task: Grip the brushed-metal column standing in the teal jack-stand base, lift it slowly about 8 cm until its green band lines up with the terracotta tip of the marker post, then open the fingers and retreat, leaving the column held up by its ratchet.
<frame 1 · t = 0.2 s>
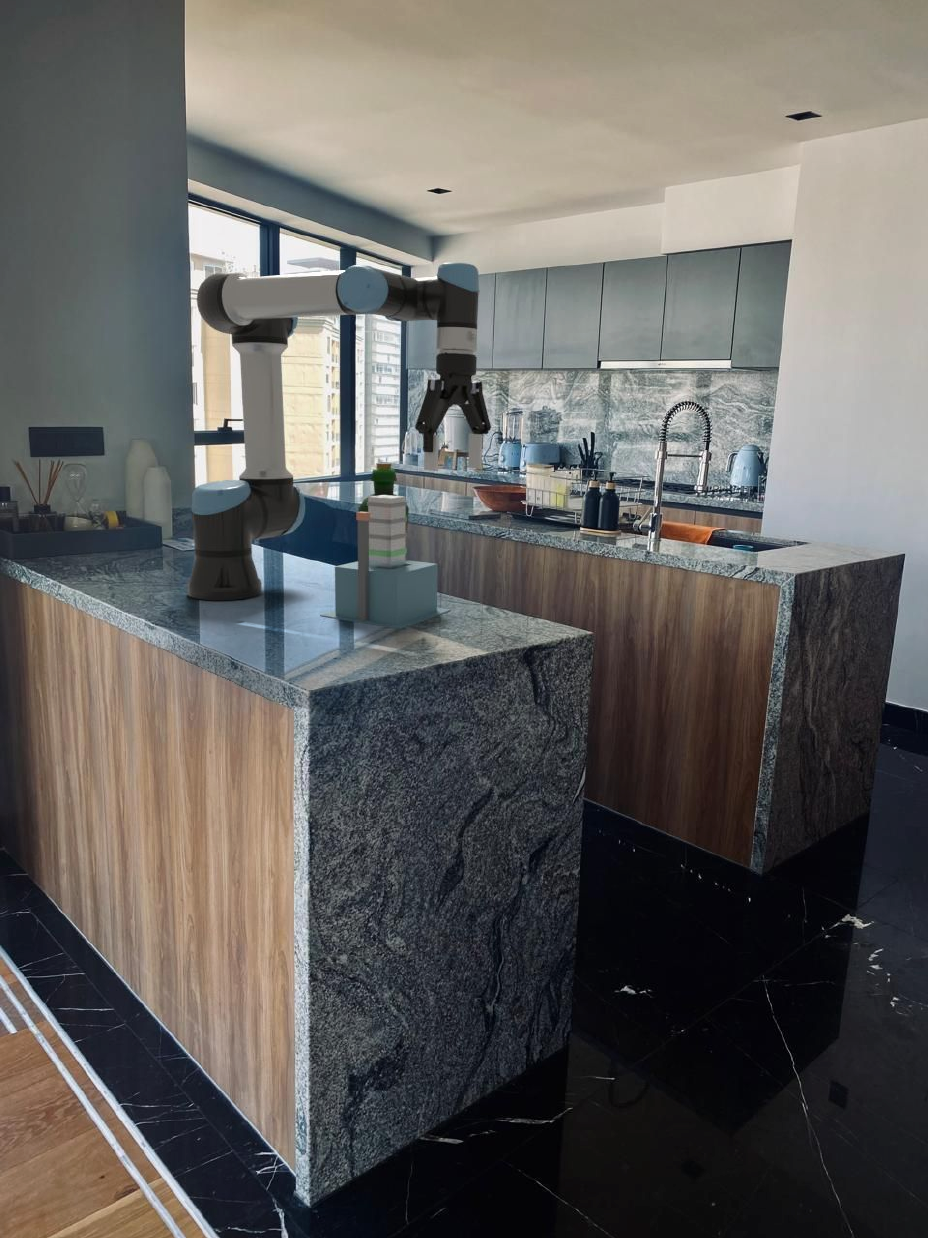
hand: (453, 469, 167), 28 cm above the table, fingers open, 13 cm apart
bottle: (383, 597, 187), on the table
column: (387, 555, 166), point 12 cm above the table, slide at 0.6 cm
stand base: (387, 616, 169), on the table
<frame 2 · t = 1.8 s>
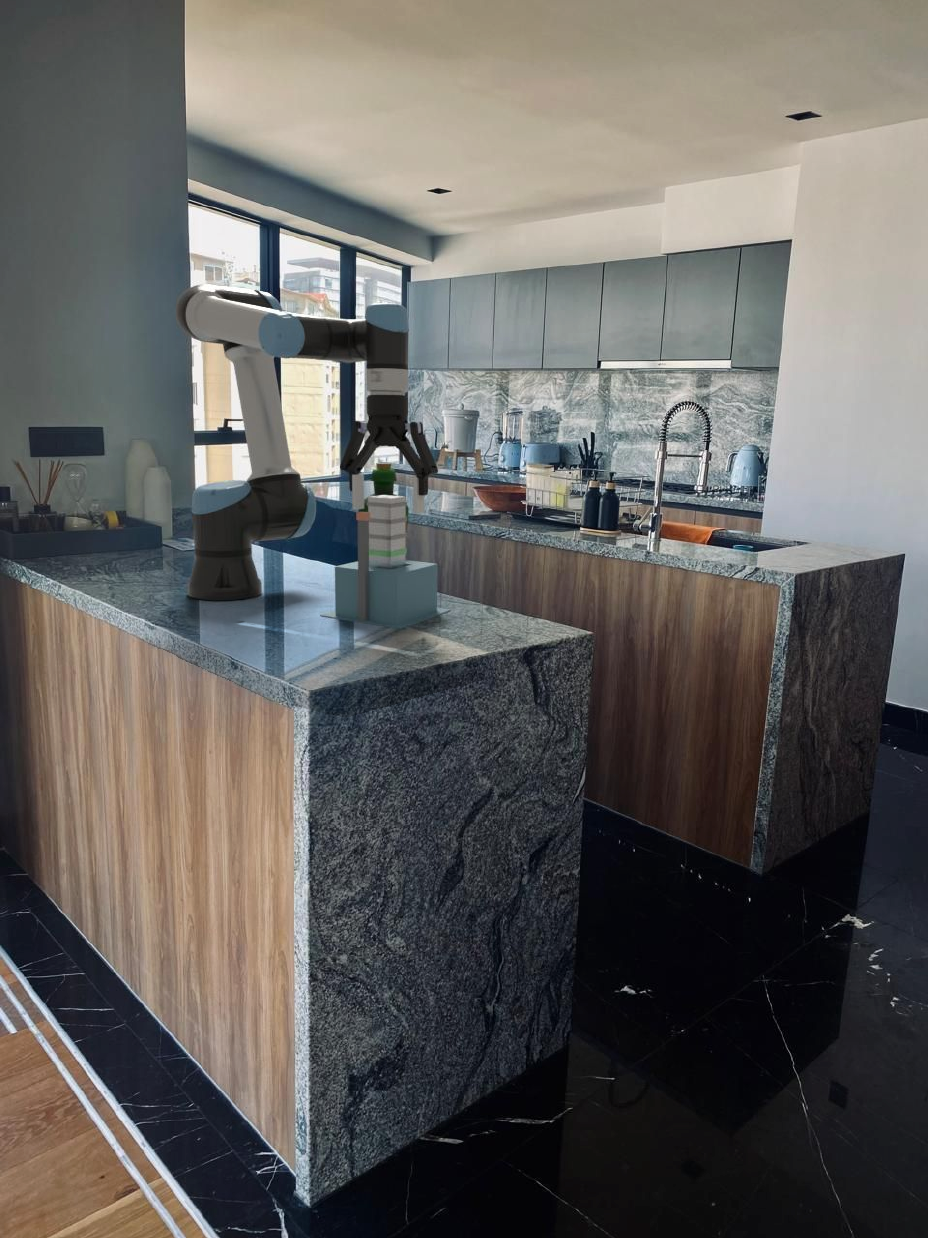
hand: (388, 511, 164), 20 cm above the table, fingers open, 13 cm apart
nothing on the table moved.
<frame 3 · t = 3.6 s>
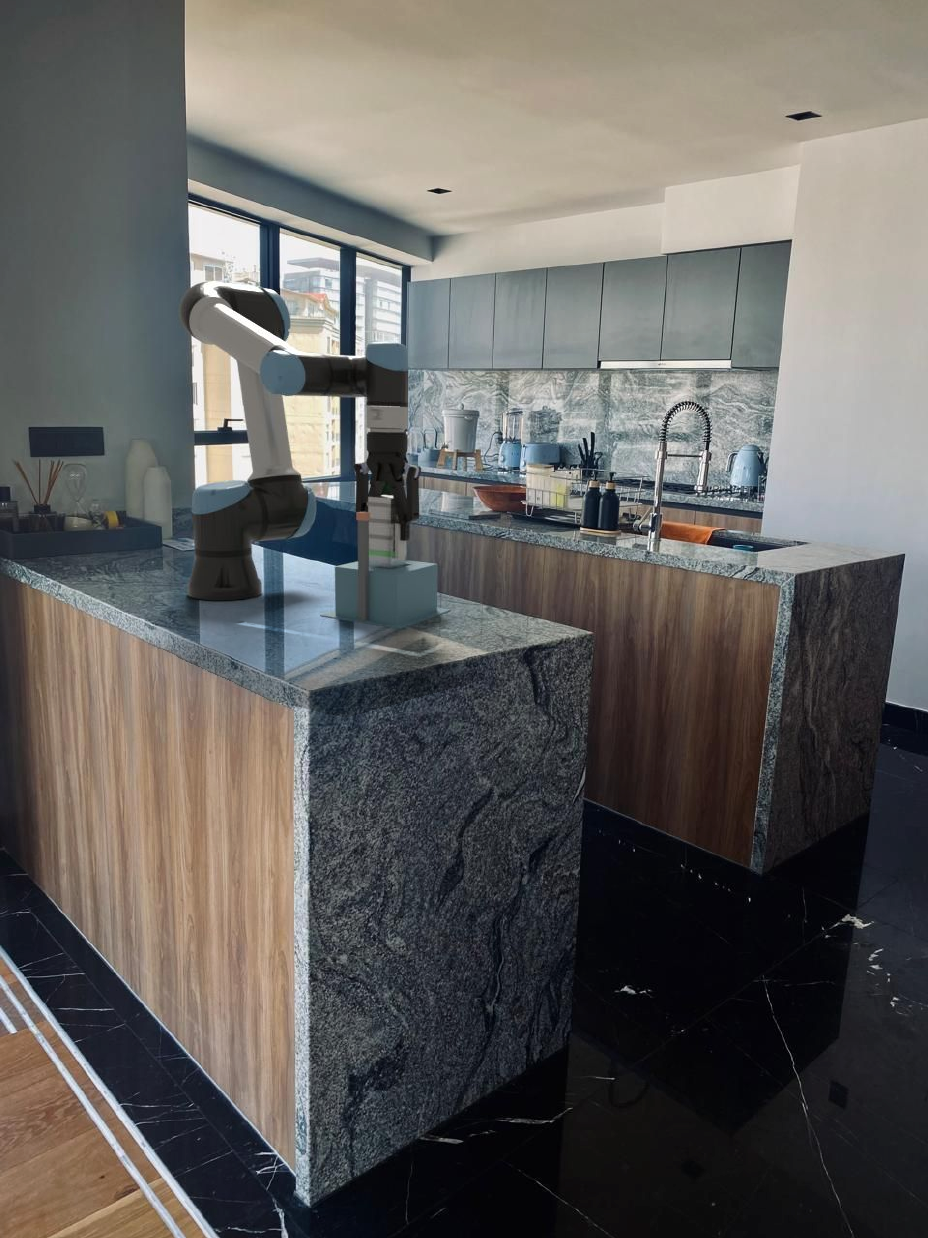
hand: (387, 555, 166), 12 cm above the table, fingers closed on column, 5 cm apart
column: (387, 554, 166), point 12 cm above the table, slide at 0.6 cm, touching gripper
everything else where it was.
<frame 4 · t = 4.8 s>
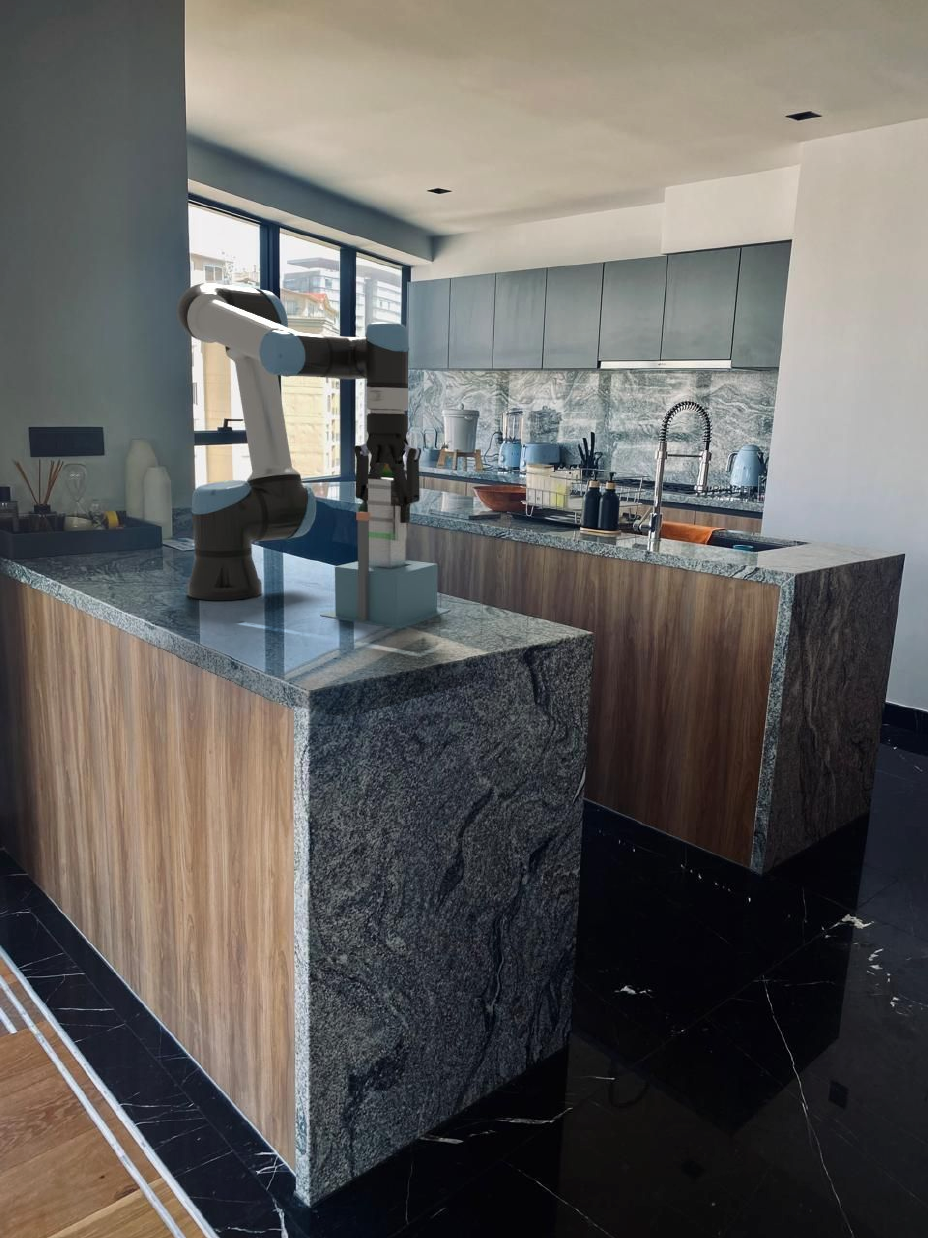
hand: (387, 538, 165), 15 cm above the table, fingers closed on column, 5 cm apart
column: (387, 537, 165), point 15 cm above the table, slide at 3.9 cm, touching gripper
everything else where it was.
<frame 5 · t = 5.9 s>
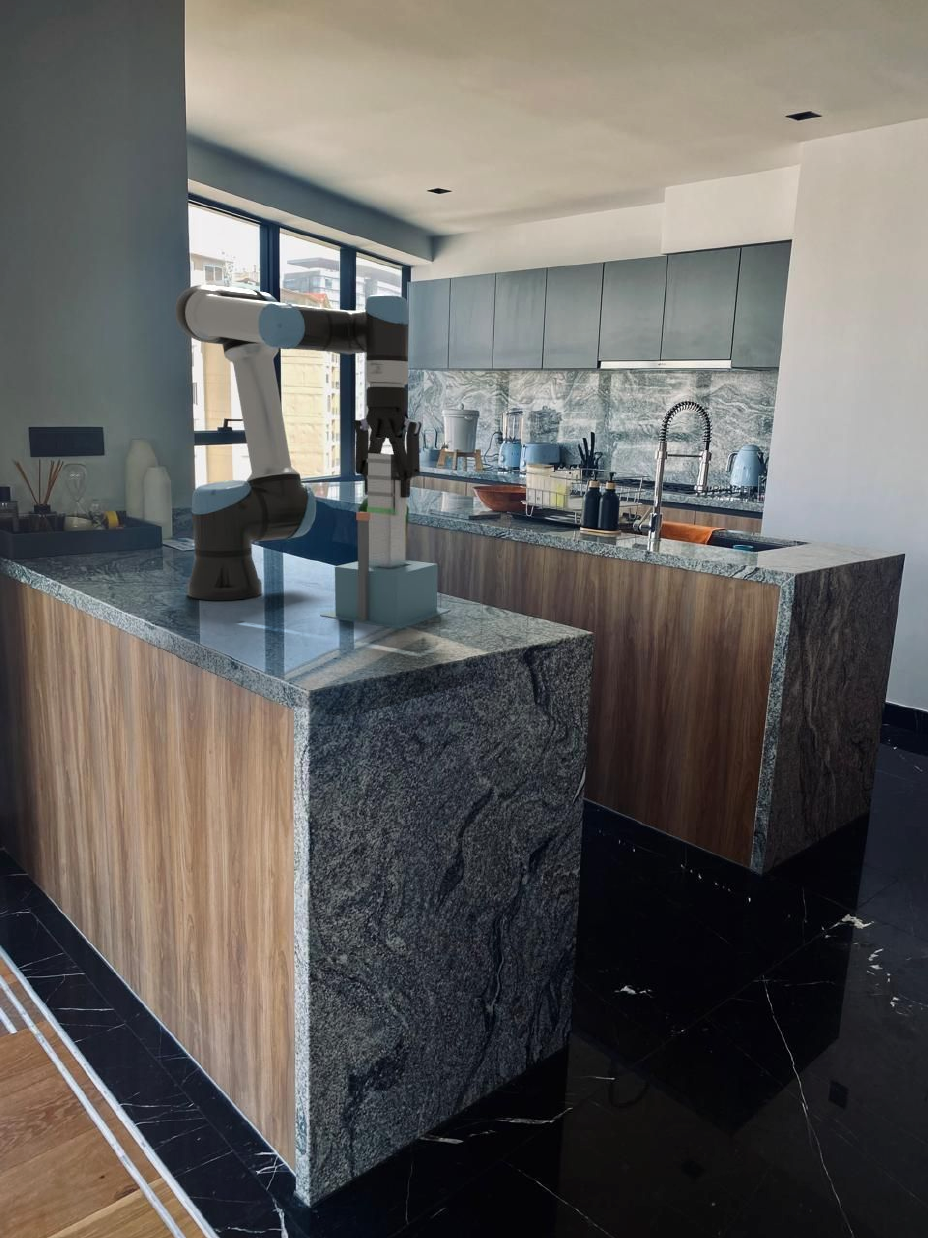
hand: (387, 513, 164), 20 cm above the table, fingers closed on column, 5 cm apart
column: (387, 513, 164), point 20 cm above the table, slide at 8.6 cm, touching gripper
everything else where it was.
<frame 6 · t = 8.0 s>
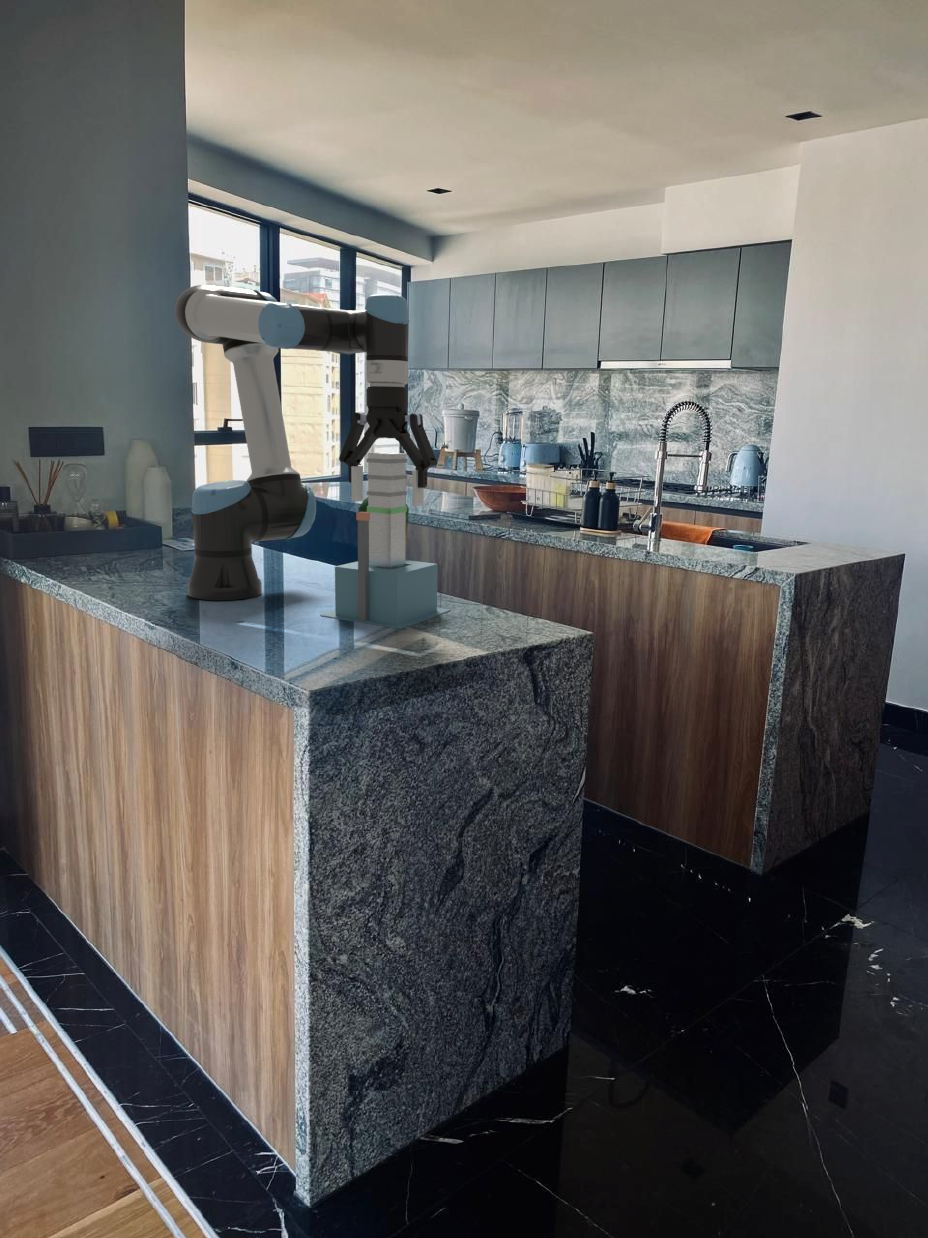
hand: (387, 503, 164), 22 cm above the table, fingers open, 13 cm apart
column: (387, 512, 164), point 20 cm above the table, slide at 8.6 cm
everything else where it was.
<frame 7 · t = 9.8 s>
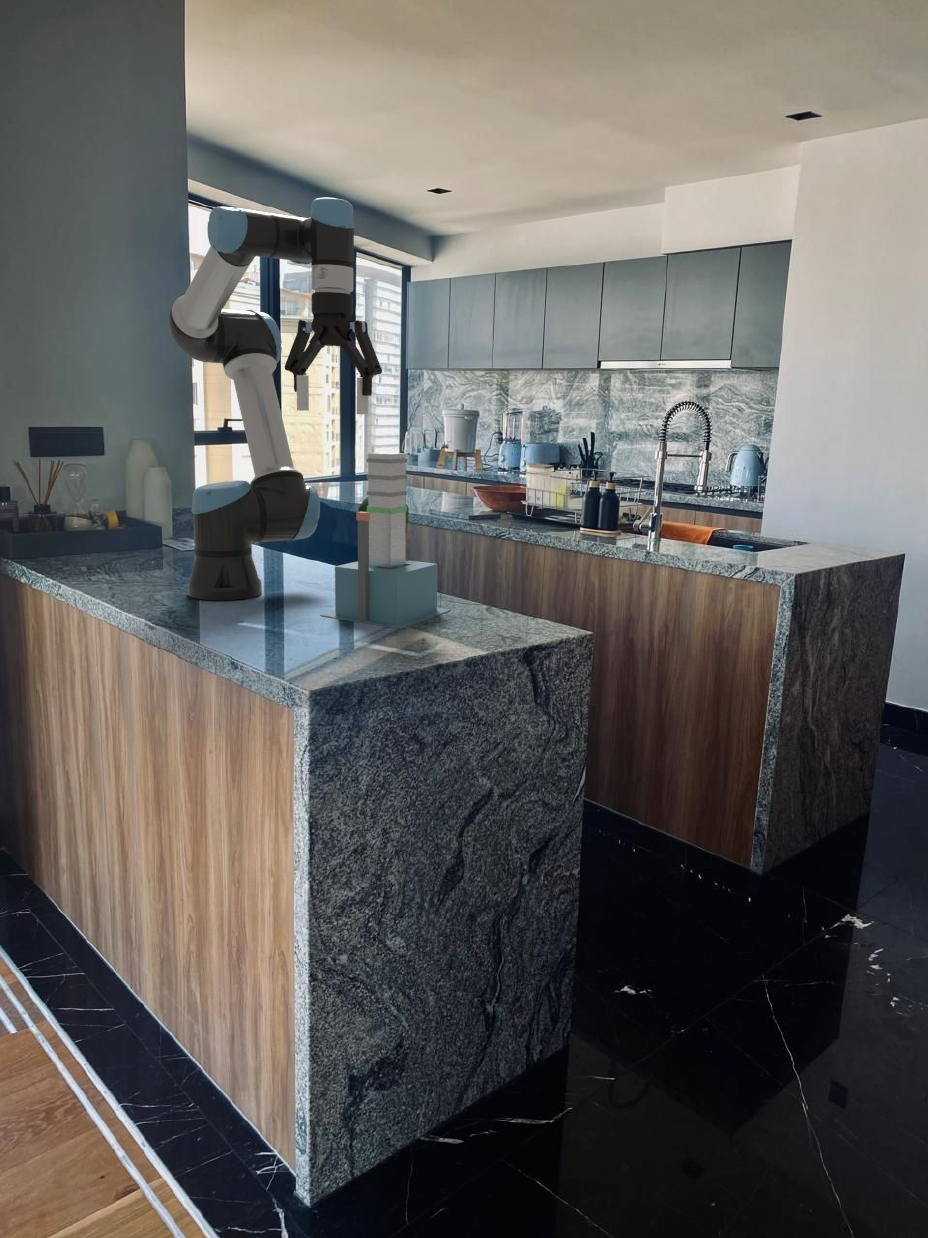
hand: (332, 412, 165), 38 cm above the table, fingers open, 13 cm apart
nothing on the table moved.
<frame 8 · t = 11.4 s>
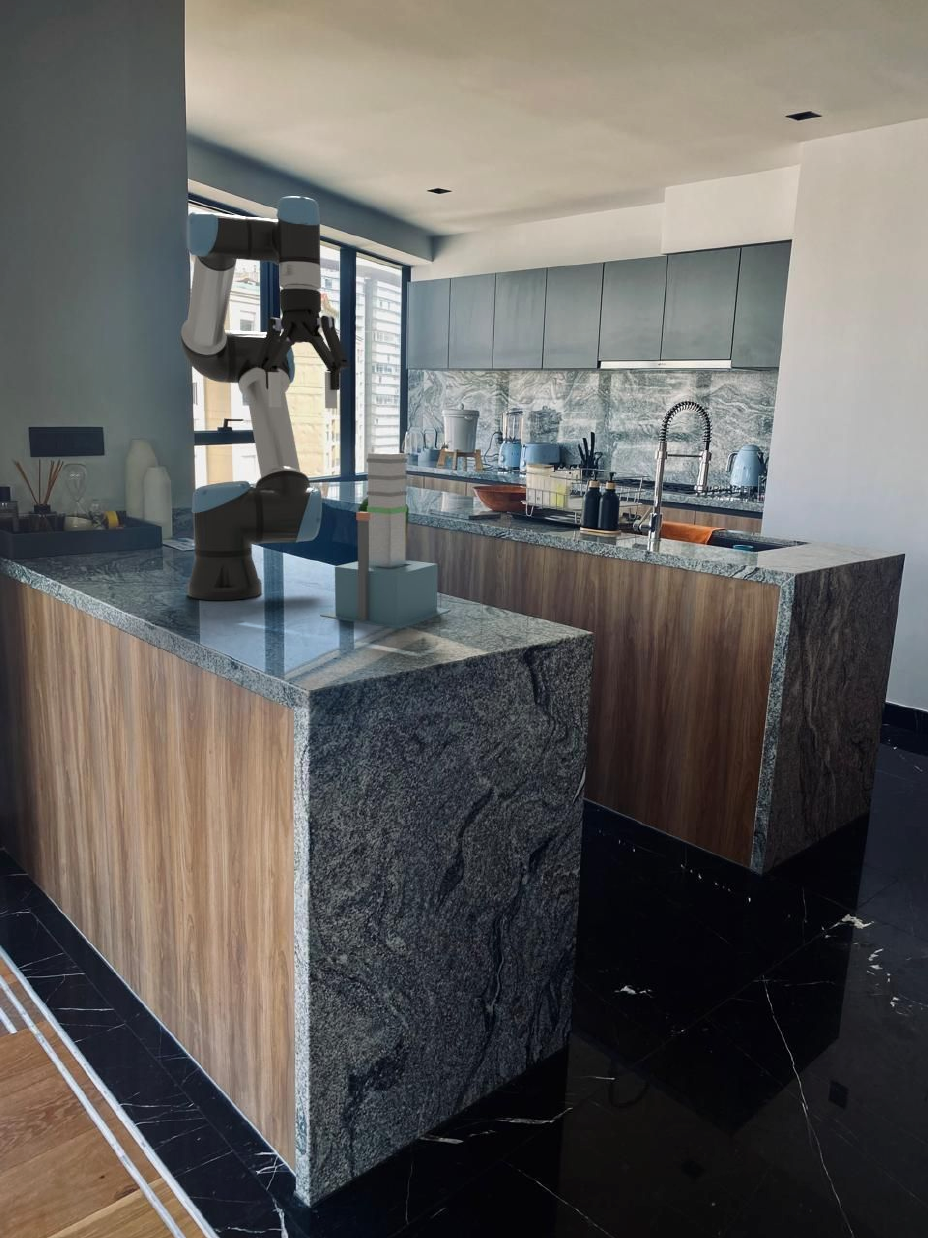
hand: (302, 408, 167), 39 cm above the table, fingers open, 13 cm apart
nothing on the table moved.
at the end: column slide at 8.6 cm; the gripper is holding nothing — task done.
